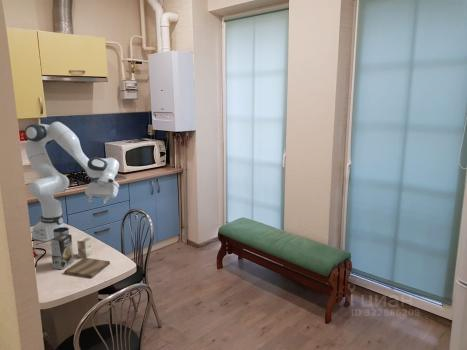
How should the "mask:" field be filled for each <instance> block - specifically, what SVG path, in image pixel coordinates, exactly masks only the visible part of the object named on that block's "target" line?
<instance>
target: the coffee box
mask: <svg viewBox="0 0 467 350" xmlns="http://www.w3.org/2000/svg"><path fill="white" fill-rule="evenodd" d="M72 237H73V236H72V234H71V233H69V234H60V235H58V236H57V237H55V238H53V239H51V240H50V247H51V261H52V269H53V268H54V269H59V270H64V269H65V268H67V267H68V266H69V265H71V264H73V263H74V251H73V249H74V248H73V240H72V239H73V238H72Z"/></svg>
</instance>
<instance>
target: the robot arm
mask: <svg viewBox="0 0 467 350" xmlns="http://www.w3.org/2000/svg"><path fill="white" fill-rule="evenodd" d="M24 130H25V131H24V136H25V138H26V139H28V140H27V141H25V143H24V149H25V150H24V151H25V153H26V156H27V159H28V162H29V164H30V166H31V169H32V171H33V172H35V173H37V174H40V175H41V176H42V178H37V179H35V180H33V181H32V182H30V183H29V185H28V192H29V193H30V195H31V196H32V197H33V198H35V199H37V200H38V202H39V203H40V206H41V212H42V215H41V216H39V217H38V219H39V220H40V221H39V222H37V223H36V224H35V225H33V227H32V232H31V233H32V238H31V239H34V240H37V241H41V242H49V241H51V239H53V238H54V234H53V230H54V229H56V228H59V227H65V224H64V214H63V209H62V202H61V201H60V200H58V199H56V198H55V197H54V194H57V193H61V192H63V191H64V190H66V189H68V188H69V186H70V179H69V178H68V177H67V176H66V175H65V174H62V173H61V172H59V171H58V170H57V169H56V168H55V166H54V165H53V163H52V160H51V159H50V157H49V155H48V152H47V149H46V145H49V144H51V143H52V142H54V141H55V142H56V144H58V145H59V146H60V147H61V148H62V149H64V151H66V152H67V153H68V154H69V155H70V157H72V158H73V159H74V160H75V161H76V163H78V165H80V167H81V168H82V169H83V170H84V171H85V173H86V177H88V178H89V180H92V181H91V182H89V184H88V185H87V187H86V188H85V191H84V194H85V195H86V196H88V201H87V202H88V203H90V204H91V203H92V202H94V200H93V199H92V198H93V197H96V198H99V197H100V198H104V199H102V201H101V204H104V205H105V204H106V203H107V202H108V201H109V200H110V198H112V199H115V198H116V197H117V195H118V194H119V188H120V184H119V183H118V182H117V181H116V180H115V178H116V176H117V175H118V172H119V168H120V162H119V161H118V160H117V159H116V158H115V157H107V158H101V157H99V156H98V157H96V156H94V157H91V158H89V157H87V155H86V154H85V153H84V152H83V149H82V146H81V143H80V139H79V137H78V135H76V134H75V132H74V131H73V130H72V129H70V128H69V127H68V126H67V125H66V124H63V123H62V122H60V121H54V122H51V124H45V123H38V124H37V123H33V124H29V125H27V126H26V127H25V129H24Z"/></svg>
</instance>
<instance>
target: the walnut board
mask: <svg viewBox="0 0 467 350" xmlns="http://www.w3.org/2000/svg"><path fill="white" fill-rule="evenodd" d="M109 265H111V261H109V260H103V259H97V258H89V257H87V258H81V259H79V261H77V262H75V263H74V264H72V265H71V266H69V267H68V268H67V269H65V270H64V274H65V275H70V276H71V275H72V276H77V277H83V278H90V279H92V278H94V277H95V276H97V275H98V274H99V273H100V272H101V271H103V270H104V269H105V268H107V267H108V266H109Z"/></svg>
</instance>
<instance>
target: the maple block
mask: <svg viewBox="0 0 467 350" xmlns="http://www.w3.org/2000/svg"><path fill="white" fill-rule="evenodd" d="M76 243H77V252H78V253H77V254H78V258H81V259H83V258H89V257H90V256H92V240H91V237H87V236H86V237H85V236H83V237H81V238H79V239H77V240H76Z"/></svg>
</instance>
